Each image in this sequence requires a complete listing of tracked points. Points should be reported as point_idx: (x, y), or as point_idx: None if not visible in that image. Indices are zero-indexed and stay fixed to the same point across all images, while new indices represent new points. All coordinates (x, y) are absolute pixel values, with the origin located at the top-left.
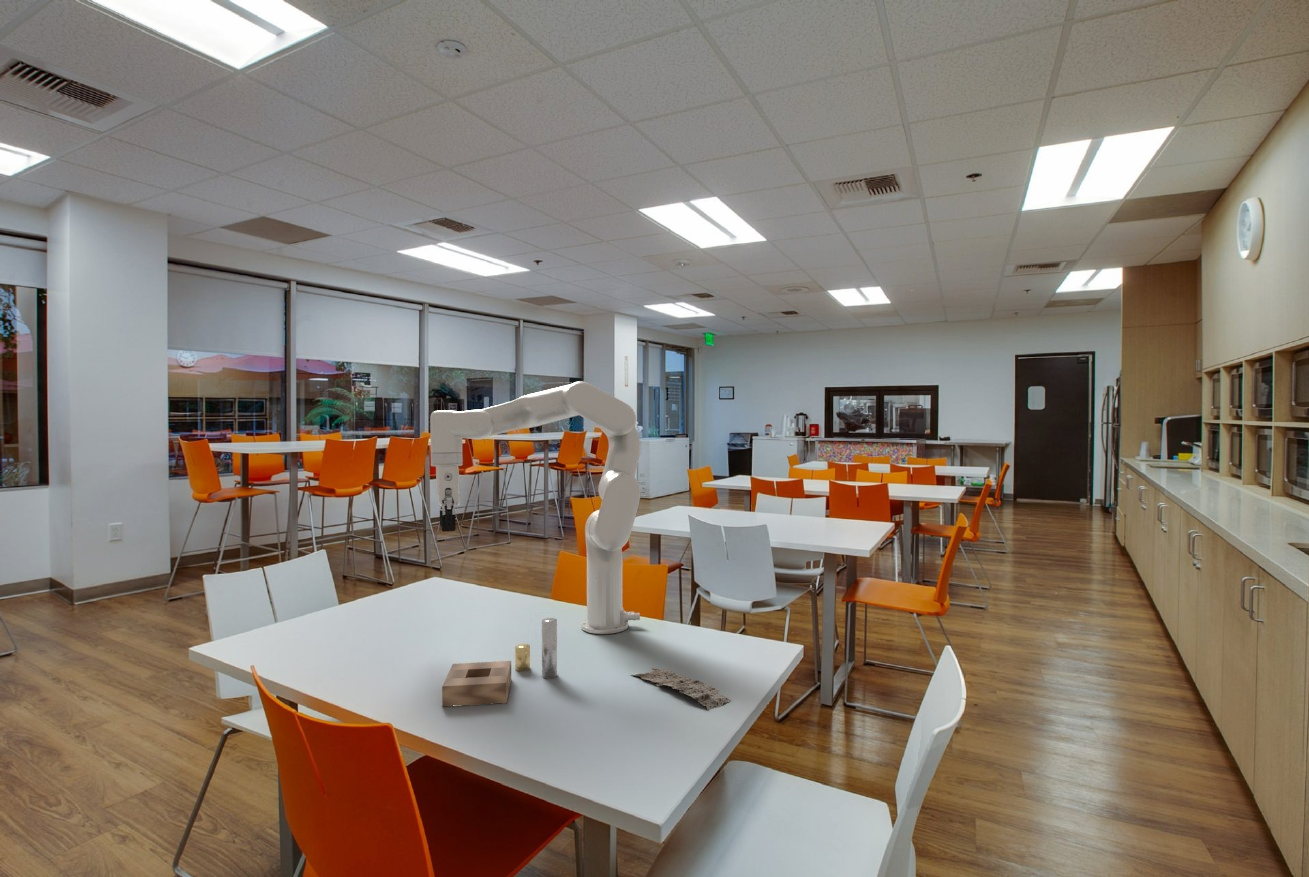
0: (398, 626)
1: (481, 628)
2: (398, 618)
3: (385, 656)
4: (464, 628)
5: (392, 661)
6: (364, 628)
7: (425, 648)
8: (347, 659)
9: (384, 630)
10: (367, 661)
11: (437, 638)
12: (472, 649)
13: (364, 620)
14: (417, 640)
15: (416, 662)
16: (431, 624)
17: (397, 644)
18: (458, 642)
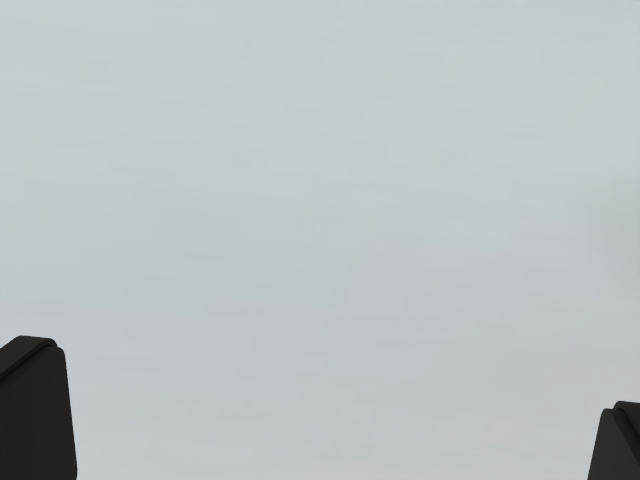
0: (125, 307)
1: (263, 4)
2: (24, 298)
3: (454, 373)
4: (236, 76)
5: (519, 359)
6: (114, 406)
7: (431, 247)
8: (427, 470)
9: (158, 352)
10: (478, 424)
11: (328, 194)
12: (534, 82)
13: None
14: (322, 263)
15: (574, 291)
16: (137, 195)
17: (339, 328)
18: (415, 124)
